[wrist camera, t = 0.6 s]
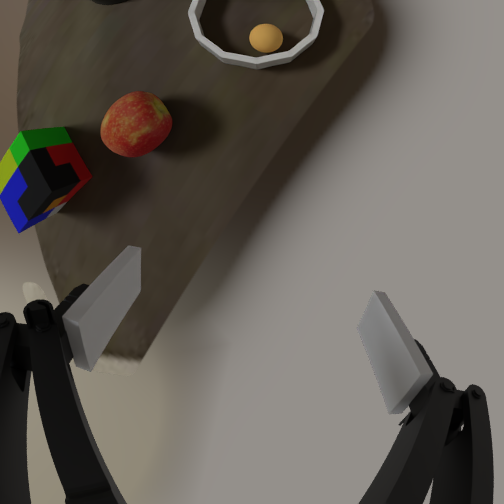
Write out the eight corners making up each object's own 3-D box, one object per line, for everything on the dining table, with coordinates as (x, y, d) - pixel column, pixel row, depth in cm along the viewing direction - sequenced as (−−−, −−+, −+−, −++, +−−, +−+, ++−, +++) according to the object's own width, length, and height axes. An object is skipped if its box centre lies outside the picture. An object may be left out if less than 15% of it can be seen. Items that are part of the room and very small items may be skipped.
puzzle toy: (57, 212, 38) (18, 233, 29) (31, 166, 35) (-10, 178, 26) (92, 176, 36) (51, 191, 27) (64, 126, 33) (20, 131, 24)
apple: (186, 132, 34) (167, 132, 26) (136, 166, 36) (108, 175, 28) (159, 85, 31) (134, 75, 24) (111, 120, 33) (79, 120, 26)
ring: (183, -9, 25) (178, -18, 22) (295, -33, 23) (298, -43, 20) (212, 82, 31) (208, 77, 28) (333, 55, 29) (339, 49, 26)
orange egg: (246, 34, 28) (244, 23, 24) (276, 27, 28) (278, 16, 24) (254, 59, 30) (254, 50, 26) (285, 52, 29) (288, 43, 25)
